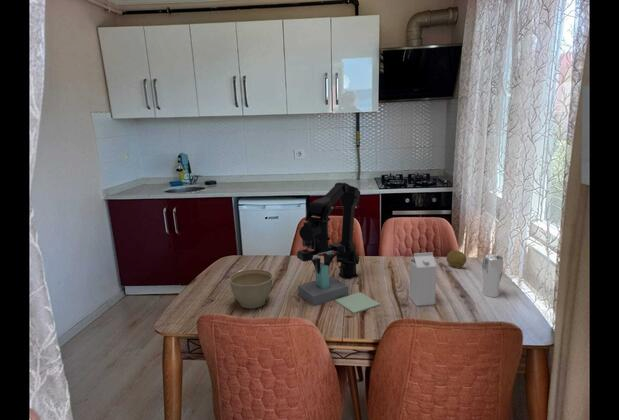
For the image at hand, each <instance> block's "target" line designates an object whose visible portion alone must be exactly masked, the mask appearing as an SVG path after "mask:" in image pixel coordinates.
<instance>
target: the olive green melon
mask: <svg viewBox="0 0 619 420" xmlns="http://www.w3.org/2000/svg"><path fill="white" fill-rule="evenodd" d="M446 262H447V263H448V264H449V265H450V266H452V267H453V266H454V267H453V268H455V267H459V268H458V269H460V268H462V267H463V266H465V264H466V262H467V257H466V255H465V253H464V252H462V251H460V250H455V249H454V250H450V251H449V252H448V253H447V256H446Z"/></svg>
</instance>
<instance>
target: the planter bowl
mask: <svg viewBox="0 0 619 420" xmlns="http://www.w3.org/2000/svg"><path fill="white" fill-rule="evenodd" d="M239 271H240V270H239ZM273 278H274V277H273V273H272V272H270V271H268V270H264V269H258V268H253V269H245V270H244V271H240V272H238V271H237V272H235V273H233V274H232V275H230V277H229V279H228V280H229V283H230V290H231V292H232V295H233V296H234V298H235V299H236V300H237V302H238V303H239V305H240V307H242V308H245V309H252V310H253V309H257V308H261V307H263V306H264V305H265V304H266V300H267V299H268V297H269V295H270V293H271V291H272V288H273V287H272V286H273Z"/></svg>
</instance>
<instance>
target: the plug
mask: <svg viewBox="0 0 619 420" xmlns="http://www.w3.org/2000/svg"><path fill="white" fill-rule="evenodd" d="M314 270H315V281H316V285H317V286H318V287H320V288H321V289H326V288H329V277H330V275H329V274H330V272H329V268H328V265H326V264H324V262H321V261H320V273H319V274H318V273H317V272H316V269H315V268H314Z"/></svg>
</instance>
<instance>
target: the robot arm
mask: <svg viewBox="0 0 619 420" xmlns="http://www.w3.org/2000/svg"><path fill="white" fill-rule="evenodd" d="M360 198H361V191H360V190H359V188H358V187H355V186H352V185H350V184H349V183H347V182H336V183H334V186H333V187H332V188H331V189H330V190H329V191H328V192H327V193H326V194H325V195H324V196H323V197H321V198H320V197H319V198H317V199H315V200H313V201H312V202H311V203H310V205H309V206H308V210H307V213H306V216H305V218H304V219H305V222H303V226H301V227H300V228H299V231H298V234H299V236H300V238H301V242H302V246H303V248H304V247H306V249H300V250H298V251H297V252H296V258H297V259H299V260H300V261H302V262H304V263H305V262H310V261H311V262H312V264H313V266H314V270H315V269H316V272H317V273H318V274H319V273H320V263H321V258H320V257H319V255H322V257H323V263H324V264H326V265H328V269H329V268H330V266H331V263H332V262H333V260H334V258H335V257H336V260H337V261H336V262H337V263H340V266H339V272H338V275H339V276H340V277H343V278H344V279H346V280H347V279H350V278H355V277H358V276H359V274H358V273H357V265H359V263H360V256H359V255H358V253H357V250H356V245H355V243H354V241H353V239H354V238H353V237H354V223H355V208H356V207H357V205H358V204H359V201H360ZM338 201H340V204H341V205H342V208H343V210H342V225H341V240H340V242H335V243H330V244H329V241H330V240H331V237H330V236H329V224H328V223H329V222H330V220H331V218H330V217H329V216H330V215H331V213H332V212H333V206H334V205H335V204H336V203H337V202H338ZM308 249H310V250H308ZM316 272H315V273H316Z"/></svg>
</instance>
